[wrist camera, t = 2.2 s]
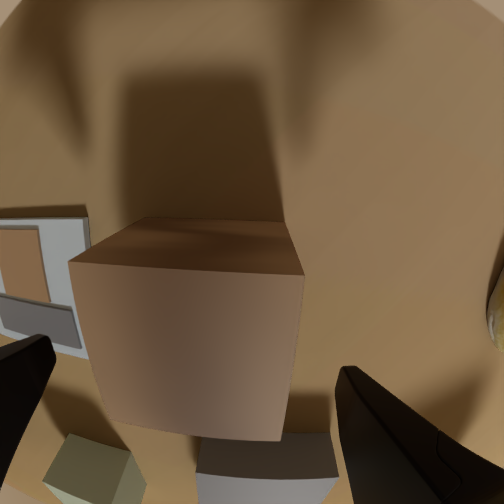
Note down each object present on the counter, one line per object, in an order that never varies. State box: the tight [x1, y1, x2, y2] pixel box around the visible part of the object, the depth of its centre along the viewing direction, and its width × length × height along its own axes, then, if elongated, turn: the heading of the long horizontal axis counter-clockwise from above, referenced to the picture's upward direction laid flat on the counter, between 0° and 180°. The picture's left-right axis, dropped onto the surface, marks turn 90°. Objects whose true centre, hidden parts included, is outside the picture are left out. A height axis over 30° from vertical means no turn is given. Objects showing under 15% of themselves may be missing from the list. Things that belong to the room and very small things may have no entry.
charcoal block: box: [195, 433, 339, 504], centre depth 16 cm, size 8×8×4 cm
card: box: [0, 217, 91, 359], centre depth 13 cm, size 10×8×1 cm
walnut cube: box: [67, 217, 305, 441], centre depth 10 cm, size 6×6×6 cm
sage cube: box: [42, 433, 147, 504], centre depth 16 cm, size 6×6×6 cm
